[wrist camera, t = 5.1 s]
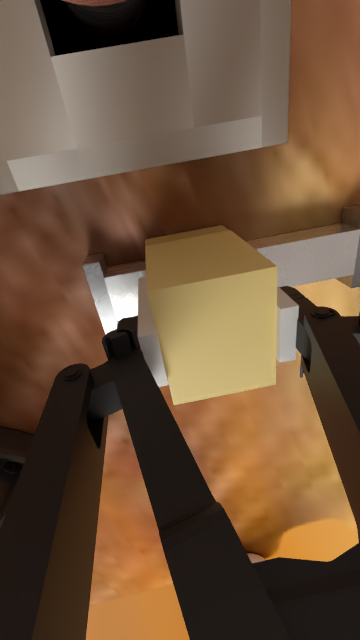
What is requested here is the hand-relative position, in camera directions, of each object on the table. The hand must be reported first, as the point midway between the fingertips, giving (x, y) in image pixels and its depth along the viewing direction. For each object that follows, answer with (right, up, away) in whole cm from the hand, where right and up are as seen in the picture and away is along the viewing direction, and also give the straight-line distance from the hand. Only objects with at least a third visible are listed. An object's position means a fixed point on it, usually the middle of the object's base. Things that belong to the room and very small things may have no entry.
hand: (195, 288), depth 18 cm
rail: (+2, +2, +2) cm, 4 cm away
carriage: (0, +1, +2) cm, 3 cm away
